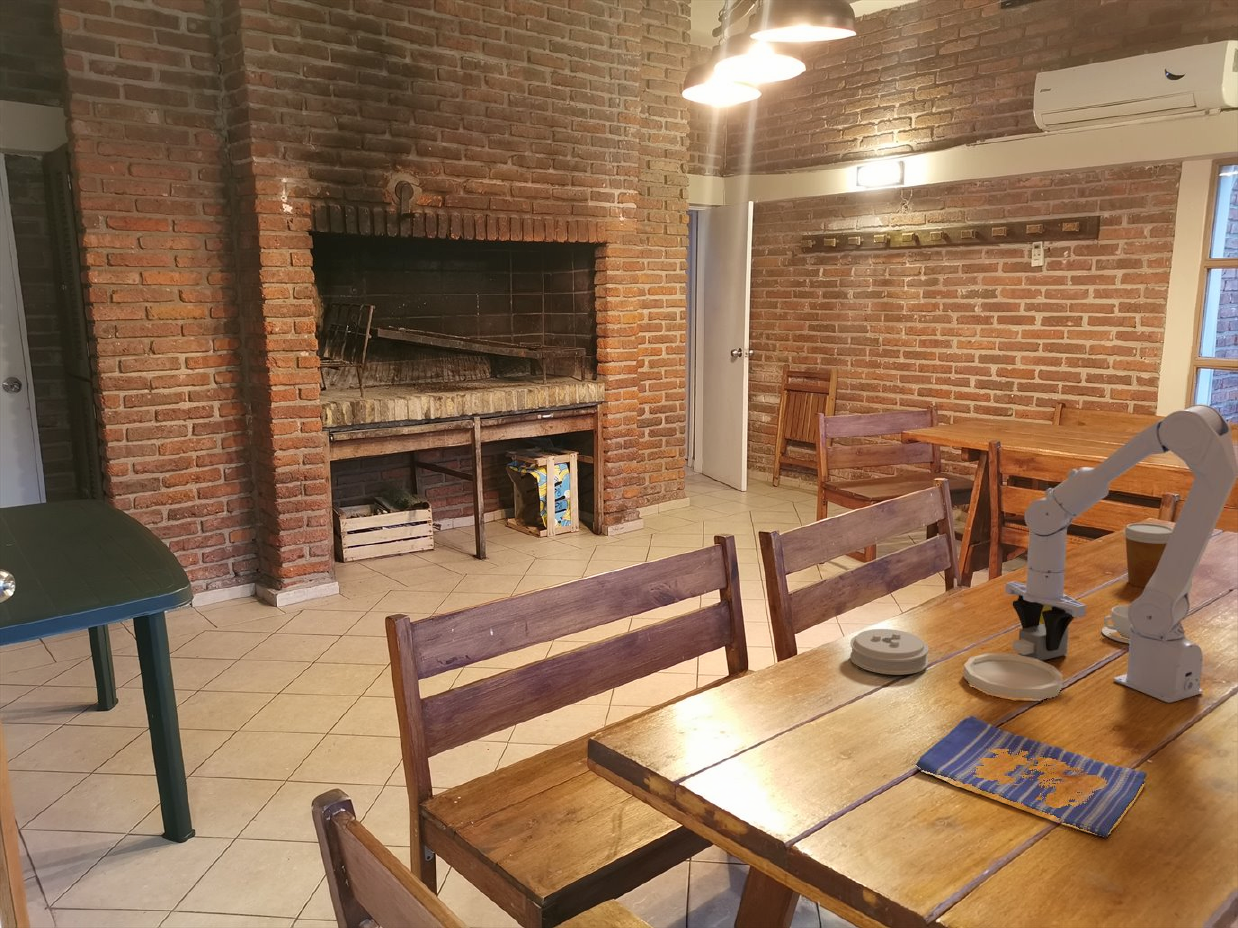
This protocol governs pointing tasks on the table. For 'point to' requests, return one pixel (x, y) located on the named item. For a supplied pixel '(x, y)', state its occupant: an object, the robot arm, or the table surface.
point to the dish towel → (976, 736)
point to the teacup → (1118, 624)
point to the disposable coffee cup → (1144, 550)
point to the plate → (1013, 676)
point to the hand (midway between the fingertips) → (1041, 645)
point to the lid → (889, 652)
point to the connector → (1038, 643)
